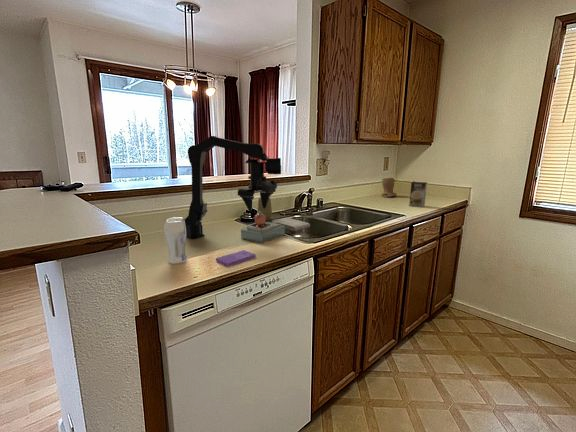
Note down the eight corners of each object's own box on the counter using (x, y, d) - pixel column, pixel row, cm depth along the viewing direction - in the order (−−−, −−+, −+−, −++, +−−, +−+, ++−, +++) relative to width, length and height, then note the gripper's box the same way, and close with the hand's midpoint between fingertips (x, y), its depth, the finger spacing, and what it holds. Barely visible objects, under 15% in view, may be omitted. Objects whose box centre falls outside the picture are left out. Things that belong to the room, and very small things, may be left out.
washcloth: (285, 221, 169) (285, 216, 168) (311, 227, 156) (311, 221, 156) (269, 225, 160) (269, 219, 159) (295, 232, 148) (295, 226, 147)
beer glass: (170, 257, 113) (167, 217, 110) (190, 257, 114) (187, 217, 110) (164, 265, 106) (160, 222, 103) (185, 264, 107) (182, 222, 104)
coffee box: (408, 206, 210) (410, 182, 206) (410, 204, 215) (412, 181, 211) (423, 207, 205) (425, 183, 201) (424, 205, 210) (427, 182, 207)
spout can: (260, 230, 134) (260, 212, 132) (252, 229, 137) (252, 211, 135) (267, 228, 138) (267, 211, 136) (259, 226, 140) (259, 209, 139)
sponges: (255, 258, 114) (255, 253, 114) (227, 268, 105) (227, 262, 105) (243, 254, 119) (243, 249, 118) (215, 262, 110) (215, 257, 109)
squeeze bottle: (270, 222, 165) (269, 188, 161) (255, 221, 167) (254, 187, 163) (273, 218, 173) (273, 186, 169) (259, 218, 174) (259, 186, 170)
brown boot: (384, 194, 259) (385, 176, 255) (398, 195, 252) (400, 177, 248) (376, 196, 247) (378, 177, 244) (391, 198, 240) (393, 178, 237)
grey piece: (262, 243, 130) (262, 230, 129) (241, 238, 137) (240, 225, 136) (288, 232, 145) (288, 221, 144) (268, 229, 152) (268, 217, 151)
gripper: (256, 177, 121) (257, 216, 124) (285, 173, 135) (285, 209, 139) (236, 175, 127) (237, 212, 130) (265, 172, 142) (265, 206, 145)
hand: (257, 210), depth 136 cm, fingers open, 9 cm apart
